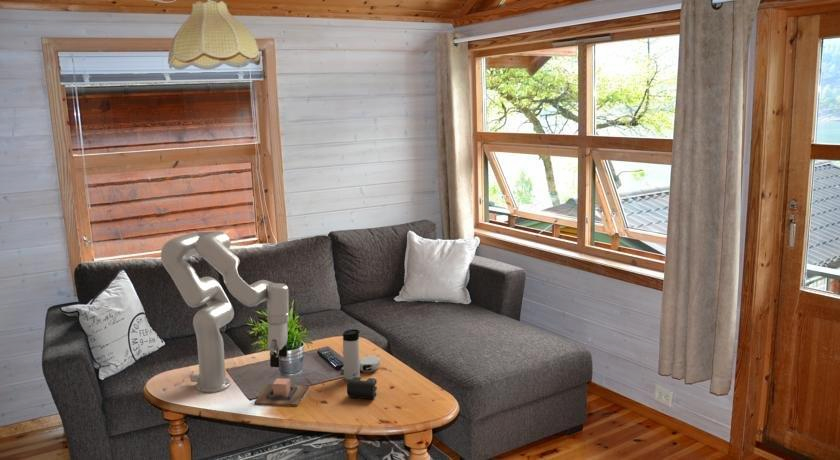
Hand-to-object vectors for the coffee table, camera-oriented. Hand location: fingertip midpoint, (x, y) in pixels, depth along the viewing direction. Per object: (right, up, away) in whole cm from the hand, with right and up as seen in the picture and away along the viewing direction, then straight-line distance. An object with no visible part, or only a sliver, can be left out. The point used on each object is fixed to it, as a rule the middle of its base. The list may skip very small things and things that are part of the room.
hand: (278, 361), depth 254 cm
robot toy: (+28, -9, +28) cm, 40 cm away
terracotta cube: (+1, -12, +2) cm, 13 cm away
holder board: (+1, -13, +2) cm, 13 cm away
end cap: (+31, -14, +2) cm, 34 cm away
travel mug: (+25, -10, +18) cm, 33 cm away
